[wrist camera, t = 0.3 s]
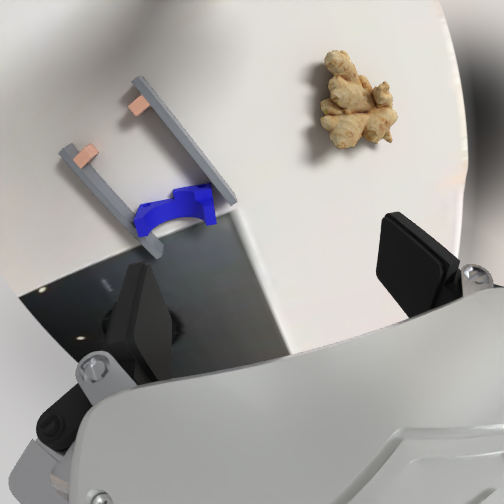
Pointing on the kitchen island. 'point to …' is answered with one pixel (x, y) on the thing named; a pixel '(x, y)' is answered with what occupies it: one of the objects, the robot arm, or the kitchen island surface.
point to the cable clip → (177, 208)
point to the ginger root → (355, 105)
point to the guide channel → (109, 197)
